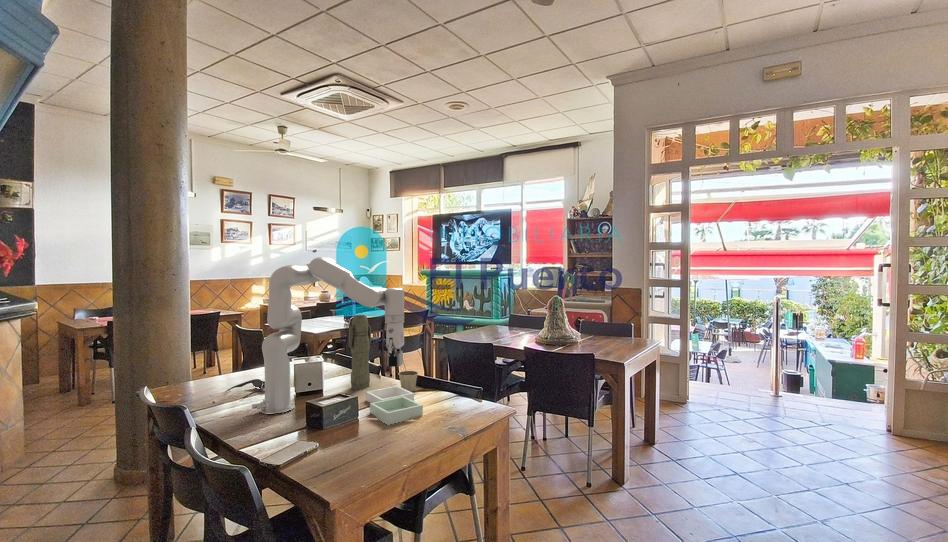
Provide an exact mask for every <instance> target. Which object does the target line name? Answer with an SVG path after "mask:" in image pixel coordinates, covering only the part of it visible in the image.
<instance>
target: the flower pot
mask: <svg viewBox="0 0 948 542" xmlns="http://www.w3.org/2000/svg"><path fill="white" fill-rule="evenodd" d="M397 374H398V376H399V382H400V387H401V388H403V389H405V390H408V391H410V392H414V391H415V390H416V385H417V379H418V375H419V372H418V371H416V370H402V371H400V372H398V373H397ZM412 374H414V375H412Z"/></svg>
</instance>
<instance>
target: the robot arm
mask: <svg viewBox="0 0 948 542" xmlns="http://www.w3.org/2000/svg"><path fill="white" fill-rule="evenodd" d="M320 281H321V282H324V283H326V284H327V285H329V286H331V287H333V288H334V289H337V290H338V291H340V292H341V293H342V294H343V295H345V296H346V297H347V298H349V299H351V300H352V301H354V302H356V303H357V304H359V305H361V306H363V307H366V308H371V309H372V308H377V307H379V306H384V323H385V324H386V339H385V343H386V344H385V346H386V348H387V353H389V355H388V356H389V366H388V367H392V368H393V367H398V366H397V356H396V351H402V347H403V346H405V329H404V323H405V291H404V289H403V288H401V287H388V288H386V287H380V286H377V287H375V286H374V287H370V286H369V285H367V284H365V283H363V282H361V281H359V280H358V279H356V278H355V277H354V275H353V273H352V271H350V270H348V269H346V268H344V267H342V266H340V265H339V264H338V263H337V261H336V260H335V259H333V258H331V257H322V256H320V257H319V256H318V257H314V258H312V260H311V261H310V262H309V263H307V264H287V265H284V266H281V267H278V268H277V269H275V270H274V272H272V274H271V275H270V278H269V283H268V286H269V287H268V302H267V319H266V321H267V325H268V326H269V328H271V329H272V330H278V331H277V332H272V333H270V334H268V335H267V336H266V337H265V338H264V339H263V340H262V344H261V351H262V357H263V362H264V363H263V364H264V381H265V390H264V399H262V401H261V402H258V403H257V402H256V403H251V409H252V410H254V409H256V410H260V413H261V412H263V413H280V412H284V411H287V410H290V409H292V408H294V407H295V404H294V403H292V402H291V363H290V359H289V355H288V353H291V352H294V350H297V349H298V347H299V346H300V342H301V337H302V336H301V335H302V320H303V318H302V317H303V316H302V312H301V309H300V308H299V307H297V306H296V305H294V304H292V298H293V297H292V291H291V287H295V286H297V287H299V286H300V287H301V286H307V285H310V284H314V283H317V282H320ZM294 409H295V408H294ZM263 413H262V414H263Z"/></svg>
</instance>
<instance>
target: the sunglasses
mask: <svg viewBox="0 0 948 542" xmlns="http://www.w3.org/2000/svg"><path fill="white" fill-rule="evenodd" d="M249 384H252V385H253V387H254V386H255V387H259V388H260V389H255V390H254V391H252V392H251V393H248V394H247V395H245V396H242V398H244V399H245V398H248V397H249V396H251V395H253V394H256V393H262V392H263V391H265V390H264V389H265V380H261V379H259V378H257V379H255V378H254V379H251V380H248V381H245V382H242V383H239V384H236V385H233V386H232V387H230V388H228V389H226V391H224V392H223V393H225V392H226V393H227V392H229V391H230V390H233V389H236V388H242V387H244V386H246V385H249ZM226 393H225V394H226Z"/></svg>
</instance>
